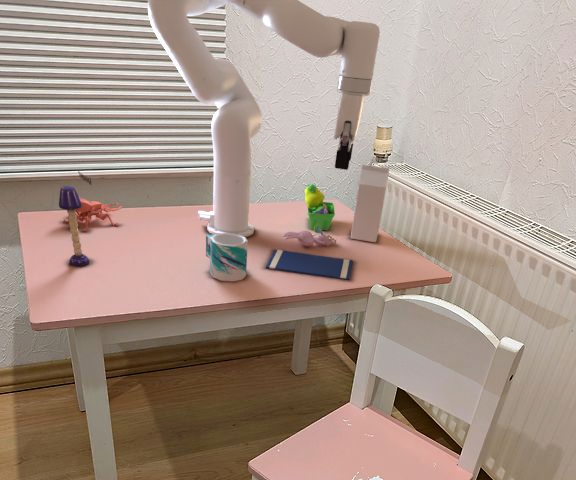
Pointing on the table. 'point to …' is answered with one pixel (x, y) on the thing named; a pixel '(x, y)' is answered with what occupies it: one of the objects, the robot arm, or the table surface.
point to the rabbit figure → (311, 237)
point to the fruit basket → (318, 208)
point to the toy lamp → (73, 222)
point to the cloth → (310, 264)
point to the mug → (227, 256)
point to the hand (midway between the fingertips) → (342, 164)
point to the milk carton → (369, 203)
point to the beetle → (92, 210)
